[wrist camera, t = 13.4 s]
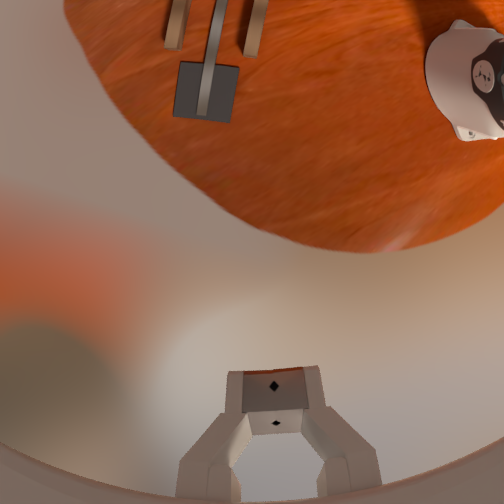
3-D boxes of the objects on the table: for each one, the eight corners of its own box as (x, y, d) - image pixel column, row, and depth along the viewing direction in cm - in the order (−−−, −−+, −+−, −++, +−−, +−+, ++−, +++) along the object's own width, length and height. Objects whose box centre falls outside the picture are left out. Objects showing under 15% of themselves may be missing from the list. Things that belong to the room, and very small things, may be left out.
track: (244, 120, 34) (244, 123, 32) (160, 111, 33) (154, 113, 31) (284, -68, 19) (286, -76, 17) (201, -75, 18) (198, -83, 16)
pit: (229, 122, 34) (229, 123, 34) (173, 116, 33) (173, 116, 33) (239, 68, 30) (239, 67, 30) (181, 62, 30) (180, 62, 29)
